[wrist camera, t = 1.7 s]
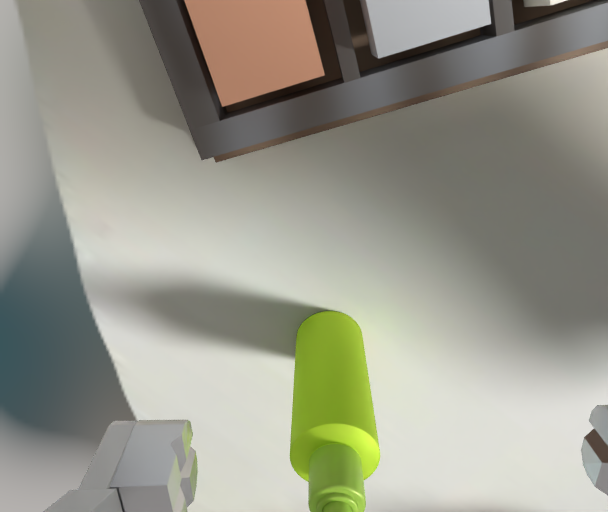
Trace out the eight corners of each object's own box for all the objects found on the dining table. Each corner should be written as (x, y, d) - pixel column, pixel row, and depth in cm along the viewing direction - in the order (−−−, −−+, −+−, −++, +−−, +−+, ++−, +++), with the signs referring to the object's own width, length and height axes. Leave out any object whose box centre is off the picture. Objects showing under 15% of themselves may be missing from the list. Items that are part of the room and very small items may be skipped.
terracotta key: (295, -41, 27) (292, -48, 24) (323, 69, 30) (324, 75, 27) (195, -6, 28) (180, -9, 25) (231, 98, 31) (222, 107, 27)
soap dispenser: (290, 304, 42) (272, 518, 24) (369, 316, 42) (409, 536, 24) (280, 358, 44) (257, 588, 26) (354, 369, 45) (381, 603, 27)
